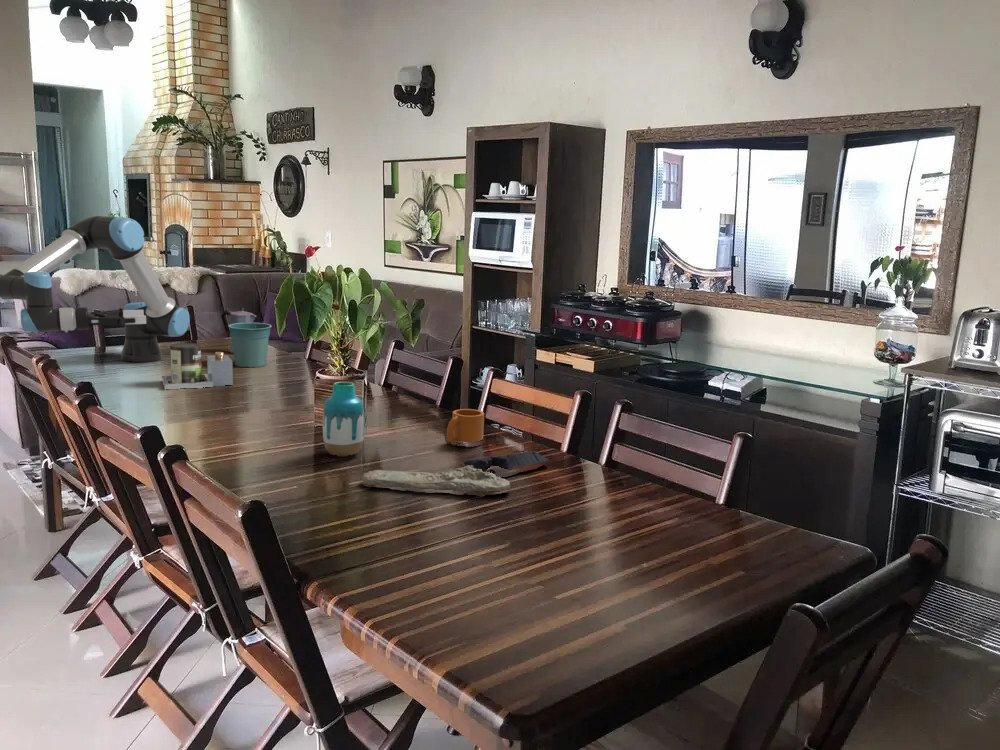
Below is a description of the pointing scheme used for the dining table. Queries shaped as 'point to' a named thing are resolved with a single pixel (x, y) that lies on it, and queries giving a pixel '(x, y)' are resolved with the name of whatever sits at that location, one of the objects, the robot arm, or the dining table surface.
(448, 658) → the dining table surface
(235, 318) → the moka pot
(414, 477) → the long grey stone
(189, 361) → the coffee can
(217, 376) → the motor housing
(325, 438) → the vase
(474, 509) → the dining table surface
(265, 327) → the flower pot
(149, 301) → the robot arm
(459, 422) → the mug
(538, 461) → the dark slate chunk
